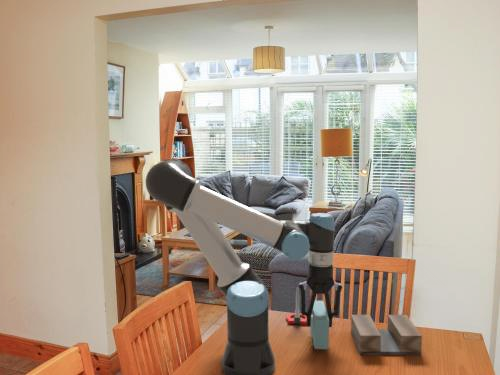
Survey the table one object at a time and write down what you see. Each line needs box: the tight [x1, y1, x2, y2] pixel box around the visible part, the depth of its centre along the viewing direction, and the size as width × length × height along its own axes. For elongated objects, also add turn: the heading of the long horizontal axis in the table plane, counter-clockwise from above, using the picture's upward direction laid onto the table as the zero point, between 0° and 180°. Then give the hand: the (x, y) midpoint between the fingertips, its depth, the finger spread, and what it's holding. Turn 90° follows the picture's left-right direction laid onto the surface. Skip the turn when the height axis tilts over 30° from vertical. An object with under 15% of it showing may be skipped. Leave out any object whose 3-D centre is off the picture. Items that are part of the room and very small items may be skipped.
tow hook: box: [285, 287, 307, 326], centre depth 169 cm, size 8×13×9 cm
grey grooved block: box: [350, 314, 423, 356], centre depth 150 cm, size 18×16×6 cm
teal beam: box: [311, 300, 330, 350], centre depth 150 cm, size 16×4×9 cm, turn 178°
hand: (318, 336), depth 150 cm, fingers closed on teal beam, 4 cm apart
